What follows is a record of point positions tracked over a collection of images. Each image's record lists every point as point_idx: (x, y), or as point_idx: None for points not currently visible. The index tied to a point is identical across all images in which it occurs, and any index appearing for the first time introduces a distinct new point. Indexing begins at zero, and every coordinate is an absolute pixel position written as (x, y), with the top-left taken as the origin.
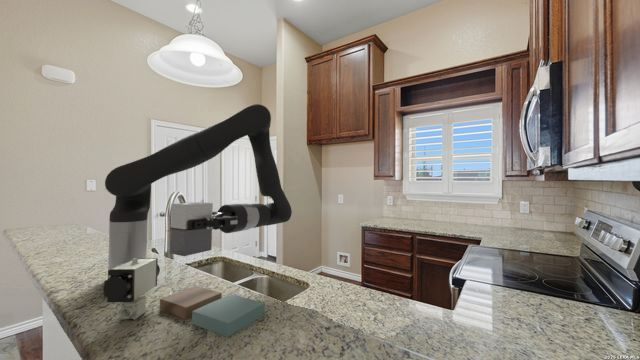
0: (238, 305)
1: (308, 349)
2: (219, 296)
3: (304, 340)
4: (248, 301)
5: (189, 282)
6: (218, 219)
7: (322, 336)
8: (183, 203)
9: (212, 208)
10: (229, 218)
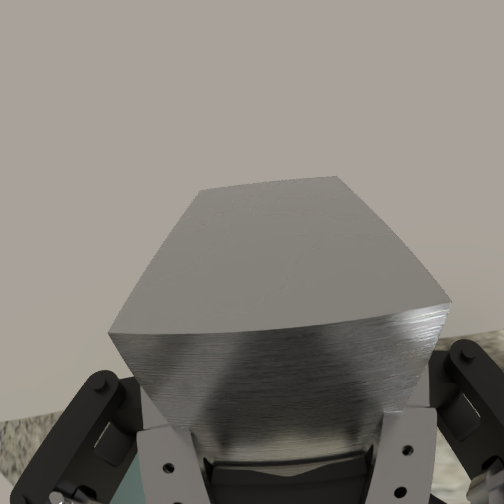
0: (132, 477)
1: (31, 424)
2: None
3: (34, 440)
4: (122, 498)
5: None
6: (86, 388)
7: (18, 450)
8: (300, 193)
9: (141, 384)
10: (42, 454)
